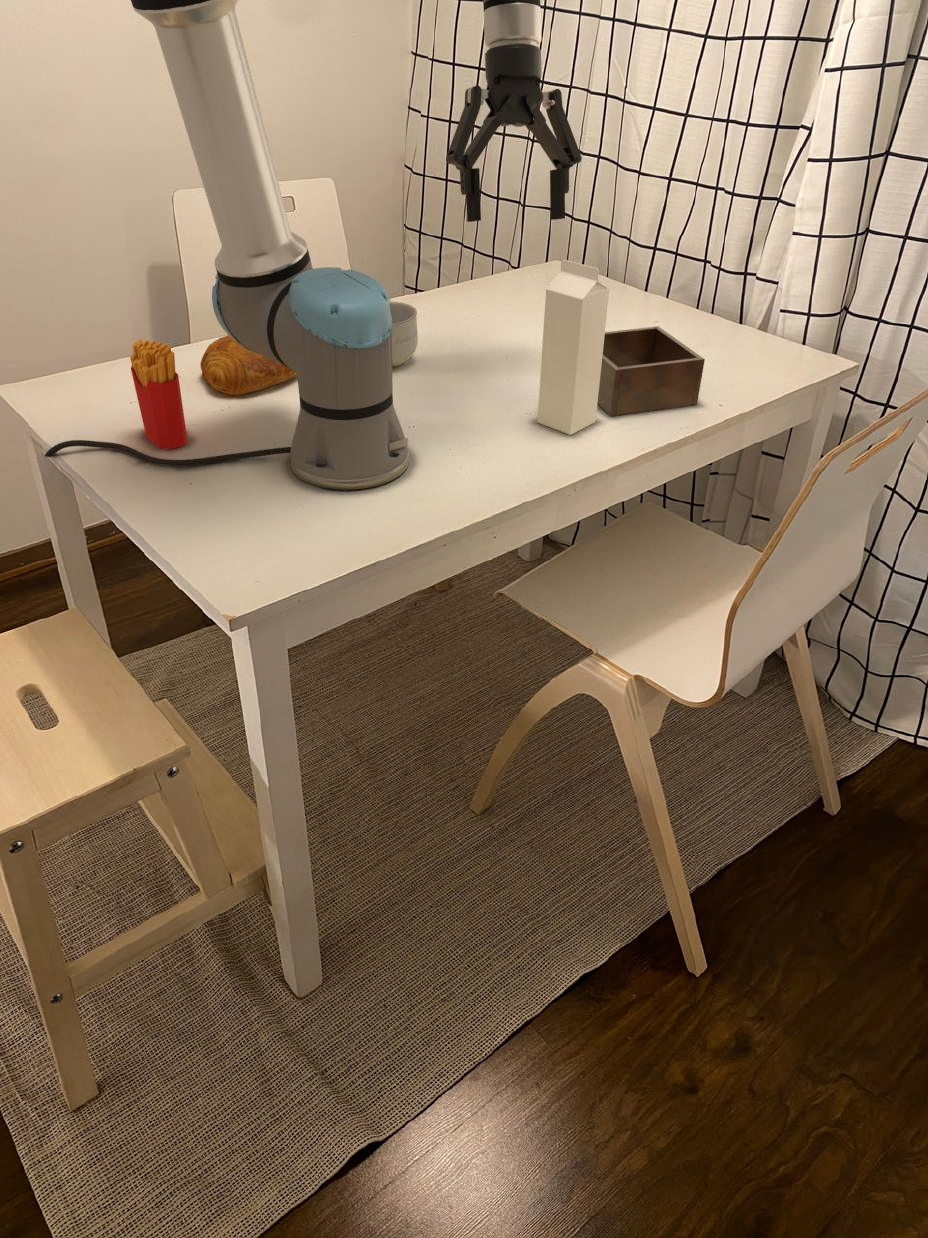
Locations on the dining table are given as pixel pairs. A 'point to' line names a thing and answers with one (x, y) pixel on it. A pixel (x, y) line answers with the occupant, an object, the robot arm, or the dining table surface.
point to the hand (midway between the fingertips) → (516, 220)
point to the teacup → (403, 331)
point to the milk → (572, 348)
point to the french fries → (158, 393)
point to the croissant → (240, 368)
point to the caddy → (647, 372)
